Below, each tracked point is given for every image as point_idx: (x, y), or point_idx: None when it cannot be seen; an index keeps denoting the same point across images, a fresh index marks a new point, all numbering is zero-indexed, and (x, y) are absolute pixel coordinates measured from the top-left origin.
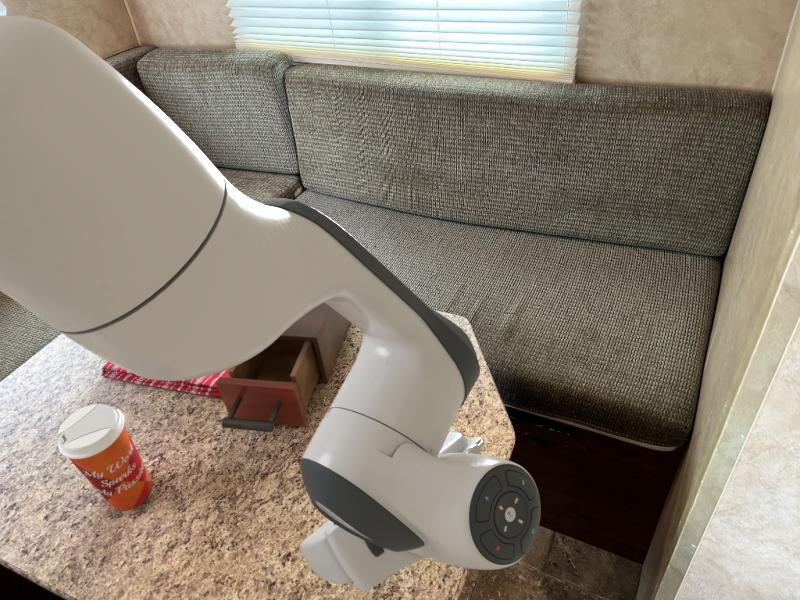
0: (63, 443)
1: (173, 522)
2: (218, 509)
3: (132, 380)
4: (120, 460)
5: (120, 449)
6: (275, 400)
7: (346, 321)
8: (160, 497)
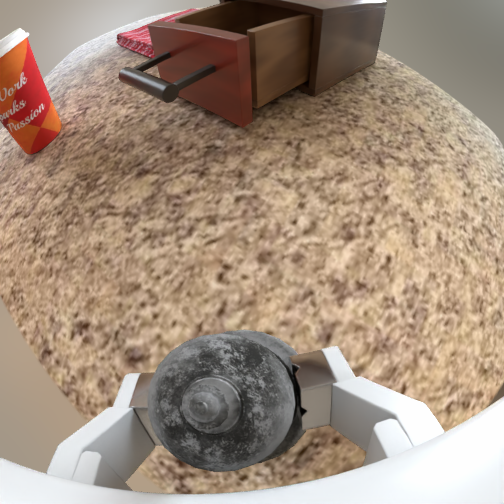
0: None
1: (35, 185)
2: (69, 193)
3: (128, 46)
4: (3, 91)
5: (2, 77)
6: (207, 62)
7: (370, 54)
8: (50, 151)
